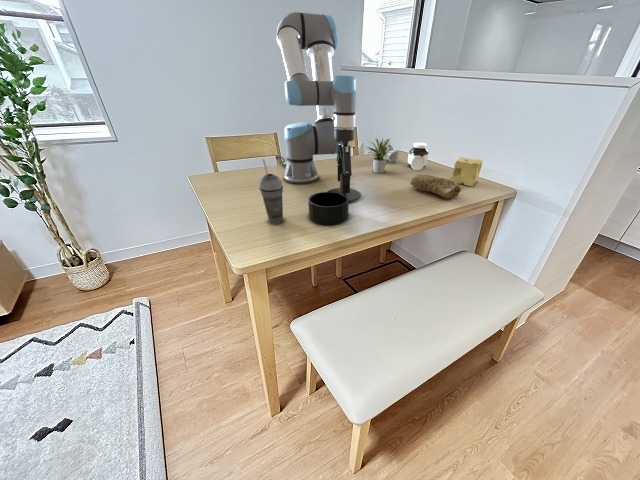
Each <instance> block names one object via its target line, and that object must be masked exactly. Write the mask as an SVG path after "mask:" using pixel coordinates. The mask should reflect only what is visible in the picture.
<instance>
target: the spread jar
mask: <svg viewBox="0 0 640 480" xmlns="http://www.w3.org/2000/svg"><path fill="white" fill-rule="evenodd" d="M412 145H413V146H412V147H411V148H410V149H409V150H408V151H409V152H408V156H407V164H408V166H409V167H410V168H412V170H414V171H421V170H423V168H425V167H426V165H427V164H428V160H429V150H428V149H427V146H428V144H427V143H425V142H413V144H412Z"/></svg>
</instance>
